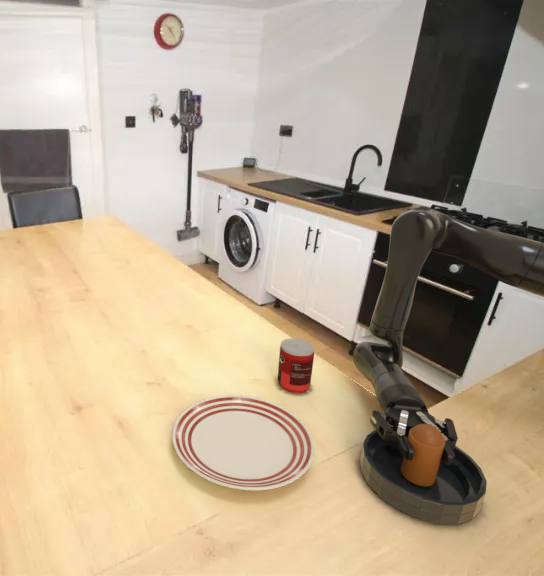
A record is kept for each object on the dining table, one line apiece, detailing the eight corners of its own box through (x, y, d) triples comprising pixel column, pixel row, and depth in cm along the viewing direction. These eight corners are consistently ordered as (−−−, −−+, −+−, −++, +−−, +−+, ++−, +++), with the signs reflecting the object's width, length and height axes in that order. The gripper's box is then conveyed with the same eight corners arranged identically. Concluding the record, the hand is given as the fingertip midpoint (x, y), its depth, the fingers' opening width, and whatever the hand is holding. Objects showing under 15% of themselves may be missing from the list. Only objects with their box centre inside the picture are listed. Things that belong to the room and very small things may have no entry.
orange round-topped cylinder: (424, 464, 75) (436, 417, 71) (441, 486, 70) (455, 437, 66) (395, 463, 75) (405, 416, 71) (410, 486, 70) (421, 437, 67)
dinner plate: (153, 422, 90) (152, 410, 88) (259, 393, 99) (260, 381, 97) (212, 526, 66) (212, 510, 64) (345, 475, 74) (348, 461, 73)
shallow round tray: (438, 445, 81) (443, 426, 79) (507, 528, 64) (515, 506, 62) (344, 444, 82) (347, 425, 80) (387, 525, 65) (392, 503, 63)
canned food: (286, 372, 107) (290, 335, 103) (315, 384, 102) (320, 345, 98) (270, 384, 102) (274, 345, 98) (300, 398, 97) (305, 357, 93)
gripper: (363, 379, 84) (386, 435, 68) (441, 386, 81) (485, 447, 65) (357, 409, 86) (379, 470, 71) (434, 417, 83) (474, 483, 68)
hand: (430, 458), depth 68 cm, fingers closed on orange round-topped cylinder, 5 cm apart
